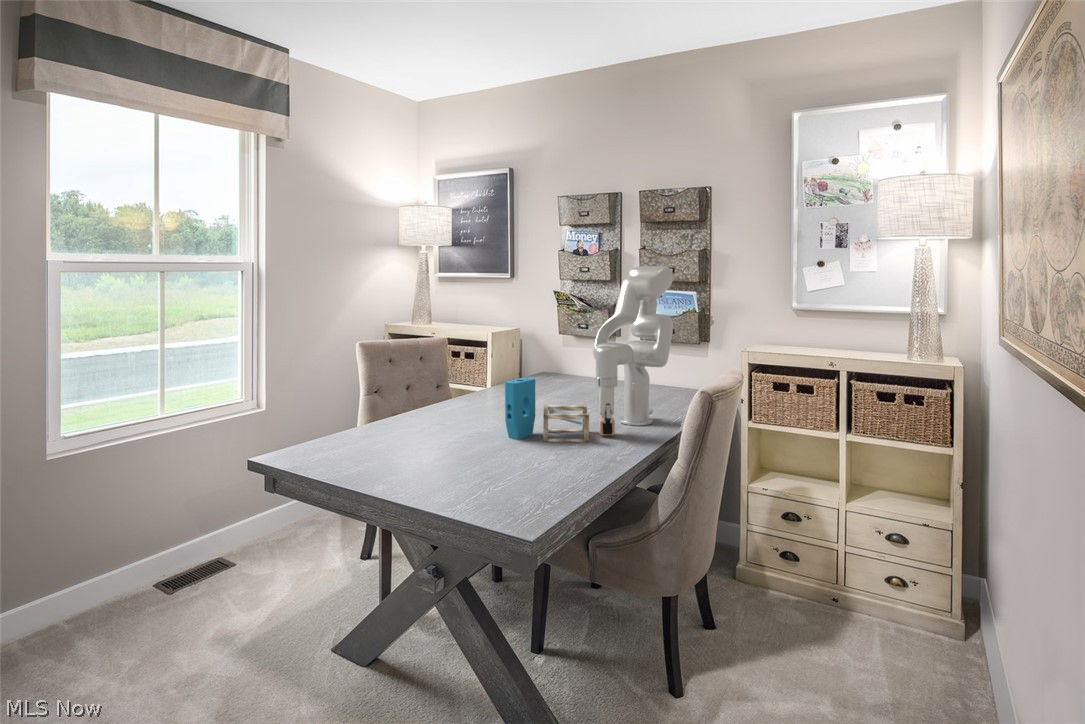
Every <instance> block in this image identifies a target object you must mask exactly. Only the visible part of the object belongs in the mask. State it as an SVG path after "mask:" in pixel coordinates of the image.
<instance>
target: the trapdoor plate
mask: <svg viewBox="0 0 1085 724" xmlns="http://www.w3.org/2000/svg"><path fill="white" fill-rule="evenodd" d="M548 414H573V413H570V412H568V411H560V410H557V409H553V407H551V408H550V409H549V410H548ZM560 421H565V422H569V423H573V424H576V425H580V426H581V425H582V419H560Z"/></svg>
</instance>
